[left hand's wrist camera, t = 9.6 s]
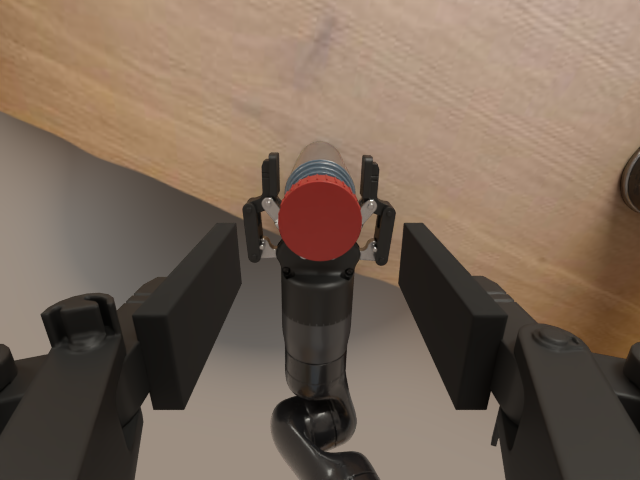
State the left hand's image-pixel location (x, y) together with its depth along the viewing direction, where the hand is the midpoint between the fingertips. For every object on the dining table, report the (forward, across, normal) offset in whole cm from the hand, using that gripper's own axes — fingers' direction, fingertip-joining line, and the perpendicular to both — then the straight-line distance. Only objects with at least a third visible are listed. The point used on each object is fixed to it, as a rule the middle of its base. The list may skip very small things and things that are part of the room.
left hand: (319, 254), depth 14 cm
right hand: (+19, 0, -2) cm, 19 cm away
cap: (+5, 0, 0) cm, 5 cm away
